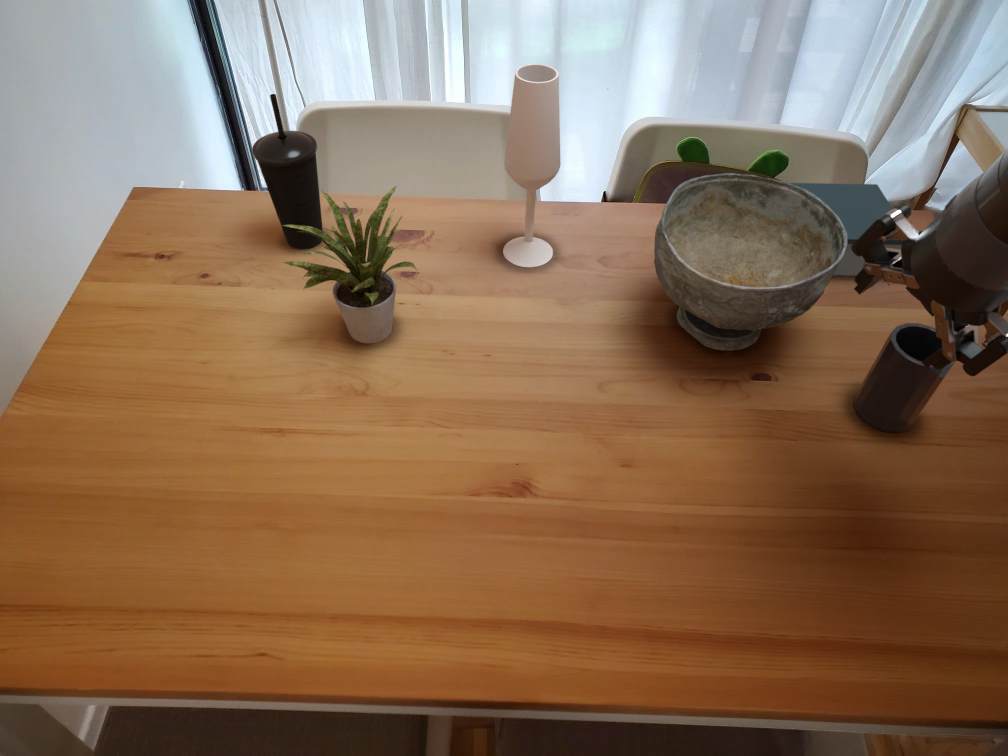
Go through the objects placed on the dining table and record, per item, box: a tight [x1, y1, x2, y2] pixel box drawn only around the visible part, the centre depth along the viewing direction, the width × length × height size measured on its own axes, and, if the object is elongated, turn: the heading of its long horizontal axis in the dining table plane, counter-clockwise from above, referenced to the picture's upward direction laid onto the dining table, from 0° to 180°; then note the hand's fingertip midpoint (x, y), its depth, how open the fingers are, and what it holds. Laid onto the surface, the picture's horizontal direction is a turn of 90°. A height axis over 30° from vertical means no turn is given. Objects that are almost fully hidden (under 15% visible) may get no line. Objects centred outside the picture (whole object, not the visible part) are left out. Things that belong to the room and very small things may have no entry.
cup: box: [853, 322, 957, 434], centre depth 74 cm, size 6×6×10 cm
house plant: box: [282, 186, 419, 345], centre depth 80 cm, size 14×14×16 cm
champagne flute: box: [502, 63, 561, 268], centre depth 87 cm, size 7×7×24 cm
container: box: [789, 182, 903, 277], centre depth 95 cm, size 13×13×6 cm
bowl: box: [653, 172, 847, 352], centre depth 81 cm, size 20×19×15 cm
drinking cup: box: [251, 93, 324, 250], centre depth 90 cm, size 8×8×20 cm
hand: (897, 322), depth 64 cm, fingers open, 8 cm apart
